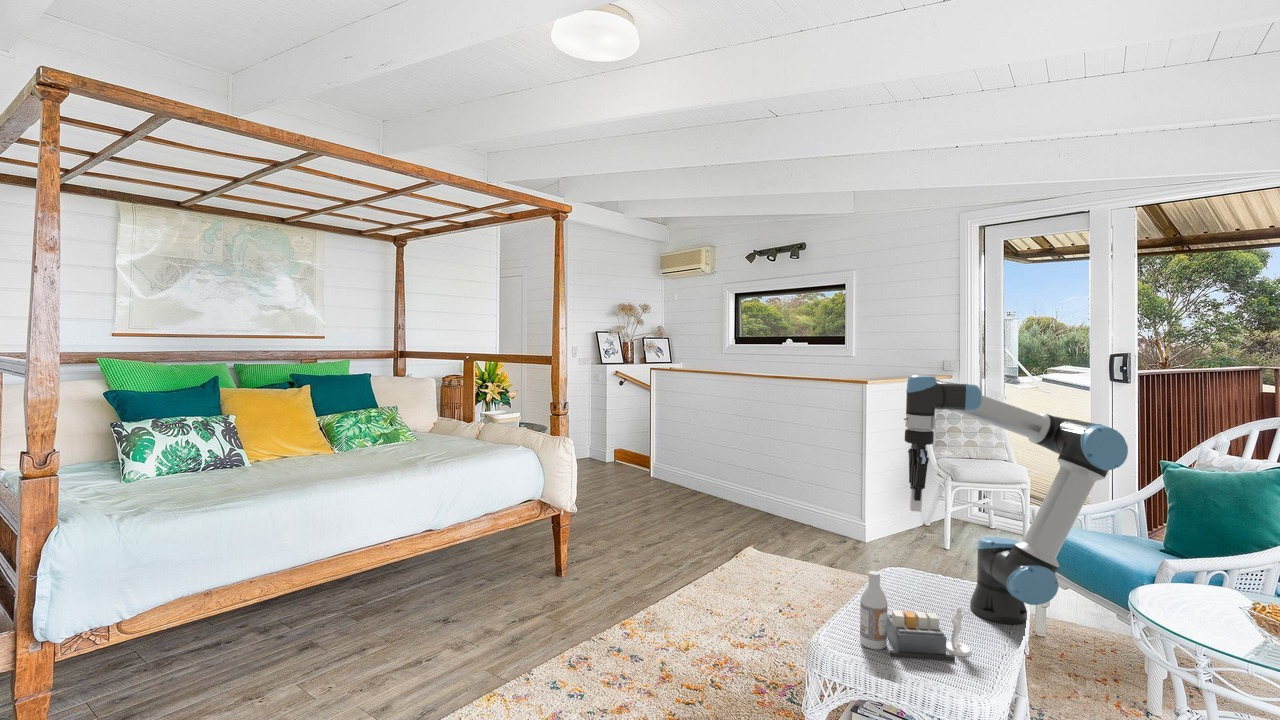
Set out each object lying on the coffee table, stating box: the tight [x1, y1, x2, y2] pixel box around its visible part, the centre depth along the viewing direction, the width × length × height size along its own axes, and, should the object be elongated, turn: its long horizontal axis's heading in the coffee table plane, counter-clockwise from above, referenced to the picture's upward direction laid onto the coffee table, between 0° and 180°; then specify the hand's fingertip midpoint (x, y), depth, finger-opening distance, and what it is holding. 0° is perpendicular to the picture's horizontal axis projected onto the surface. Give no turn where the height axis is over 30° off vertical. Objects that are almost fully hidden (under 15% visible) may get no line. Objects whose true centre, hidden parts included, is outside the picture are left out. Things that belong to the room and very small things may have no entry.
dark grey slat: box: [889, 649, 956, 662], centre depth 161 cm, size 16×1×1 cm, turn 82°
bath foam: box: [859, 570, 888, 650], centre depth 168 cm, size 7×7×20 cm
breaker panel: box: [887, 613, 947, 655], centre depth 167 cm, size 12×12×7 cm
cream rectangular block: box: [925, 612, 940, 630], centre depth 166 cm, size 2×4×3 cm, turn 172°
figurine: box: [946, 606, 973, 657], centre depth 165 cm, size 7×7×12 cm
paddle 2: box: [903, 610, 916, 628], centre depth 167 cm, size 2×4×3 cm, turn 172°
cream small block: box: [891, 610, 904, 627], centre depth 167 cm, size 2×4×3 cm, turn 172°
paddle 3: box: [914, 611, 928, 629], centre depth 167 cm, size 2×4×3 cm, turn 172°
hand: (915, 510), depth 175 cm, fingers closed
